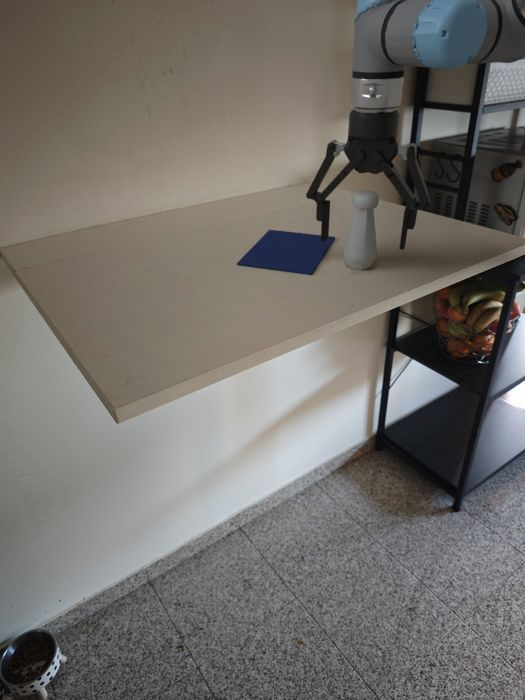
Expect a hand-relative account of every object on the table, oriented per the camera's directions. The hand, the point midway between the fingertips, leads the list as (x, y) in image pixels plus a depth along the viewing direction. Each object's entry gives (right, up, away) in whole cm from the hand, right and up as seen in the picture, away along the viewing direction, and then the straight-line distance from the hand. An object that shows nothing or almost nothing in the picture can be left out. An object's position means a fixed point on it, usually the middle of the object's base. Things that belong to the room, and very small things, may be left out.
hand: (362, 242), depth 87 cm
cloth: (-13, 0, +8) cm, 15 cm away
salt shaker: (0, -4, +2) cm, 4 cm away
